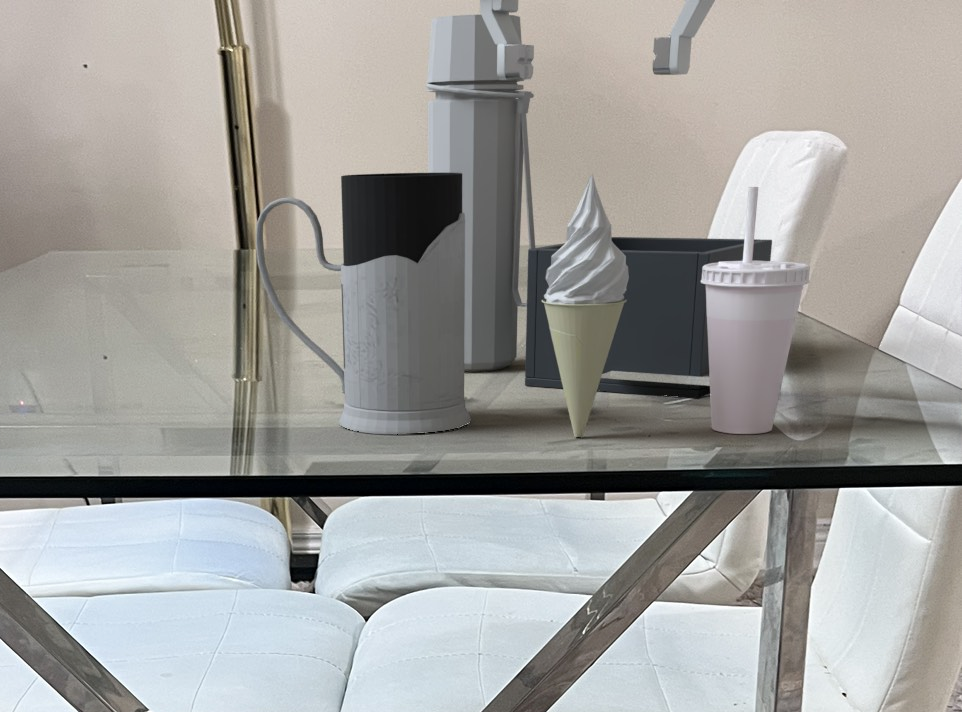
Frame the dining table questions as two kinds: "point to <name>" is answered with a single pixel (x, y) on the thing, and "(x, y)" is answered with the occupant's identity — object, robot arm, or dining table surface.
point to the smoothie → (749, 333)
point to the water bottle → (482, 177)
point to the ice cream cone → (585, 303)
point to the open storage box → (643, 314)
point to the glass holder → (396, 300)
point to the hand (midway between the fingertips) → (590, 77)
